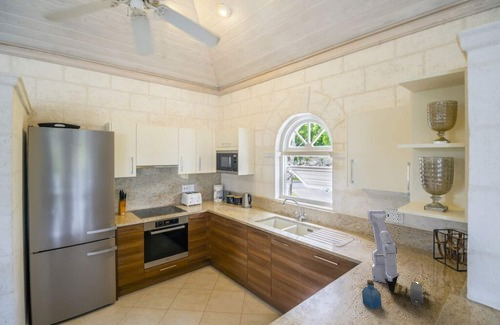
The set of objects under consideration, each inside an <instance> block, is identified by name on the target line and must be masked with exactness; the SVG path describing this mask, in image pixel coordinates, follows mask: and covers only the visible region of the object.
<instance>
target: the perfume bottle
mask: <svg viewBox="0 0 500 325" xmlns="http://www.w3.org/2000/svg"><path fill="white" fill-rule="evenodd" d="M361 296H362V298H361V299H362V304H363V305H365V306H366V307H368V308H370V309H371V310H374V309H378V308H381V307H382V294H381V292H380V291H379V290H378V288H377V287H375V281H374V280H372V279H371V280H370V279H367V280H366V286H364V288H363V289H362V290H361Z"/></svg>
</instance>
